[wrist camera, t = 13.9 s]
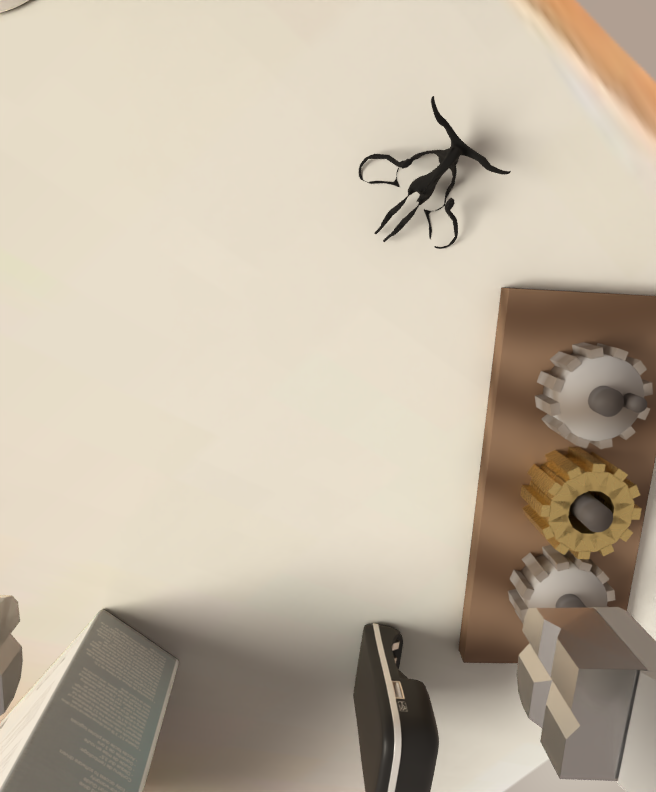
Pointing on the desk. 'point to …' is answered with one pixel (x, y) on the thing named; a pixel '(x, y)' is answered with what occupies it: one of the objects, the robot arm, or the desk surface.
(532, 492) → the brass gear
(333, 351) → the desk surface
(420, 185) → the creature
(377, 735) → the battery charger
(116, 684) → the hard drive box
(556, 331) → the gear board
